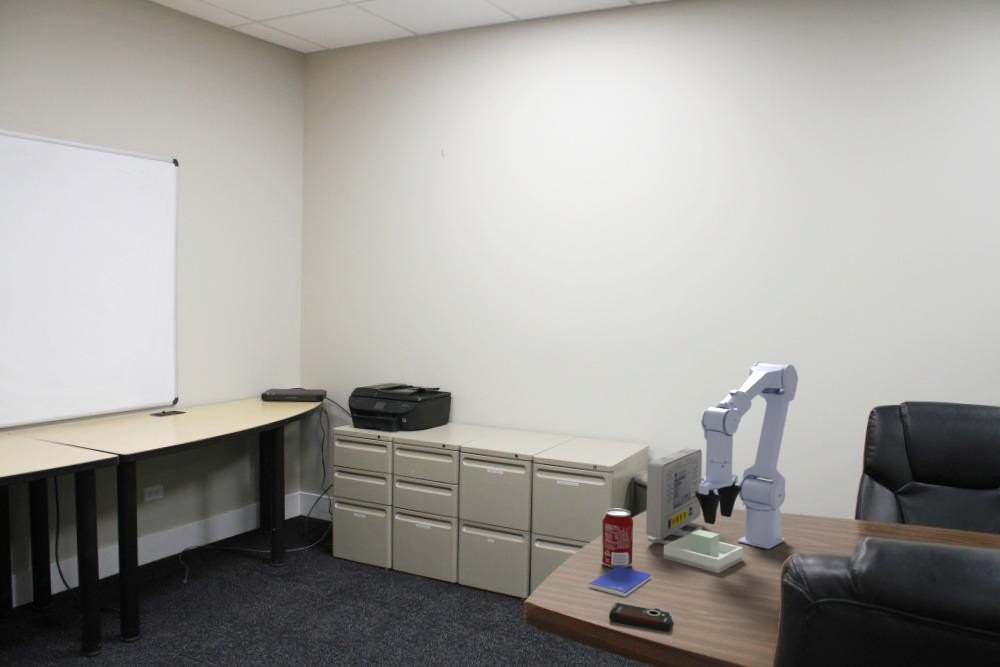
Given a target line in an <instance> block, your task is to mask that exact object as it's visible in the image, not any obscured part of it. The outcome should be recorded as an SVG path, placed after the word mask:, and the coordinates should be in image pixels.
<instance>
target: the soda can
mask: <svg viewBox="0 0 1000 667" xmlns="http://www.w3.org/2000/svg"><path fill="white" fill-rule="evenodd" d="M601 520H602V525H601V526H602V527H601V528H602V529H601V532H602V533H601V563H602V564H603V565H605V566H606V567H608V568H610V569H614V568H615V567H617V566H619V567H623V568H628V567H630V566H631V565H632V564H633V547H634V546H633V542H634V540H633V539H634V538H633V537H634V519H633V518H632V517H631V511H630V510H627V509H623V508H608V509H606V510H605V514H604V516H603V518H602V519H601Z"/></svg>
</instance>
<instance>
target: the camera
mask: <svg viewBox="0 0 1000 667" xmlns="http://www.w3.org/2000/svg"><path fill="white" fill-rule="evenodd" d="M608 618H609V620H610V621H614V622H619V623H620V624H625V625H629V626H633V627H634V626H635V627H639V628H645V629H650V630H655V631H665V632H670V631H671V630H672V628H673V627H672V626H673V620H674V616H673V615H671V614H670V613H669V612H666V611H661V610H660V608H654V609H652V608H647V607H642V606H635V605H630V604H626V603H625V604H624V603H620V602H615V601H614V602H613V603H612V605H611V610H610V611H609V615H608Z"/></svg>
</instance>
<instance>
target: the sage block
mask: <svg viewBox="0 0 1000 667" xmlns="http://www.w3.org/2000/svg"><path fill="white" fill-rule="evenodd" d="M719 542H720V533H717V532H716V533H715V532H712V531H708V530H703V529H702V530H697V531H695V532H693V533H691V550H690V551H692V552H696V553H700V554H704V555H708V556H711V557H715V558H716V557H718V556H719Z"/></svg>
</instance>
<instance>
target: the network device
mask: <svg viewBox="0 0 1000 667" xmlns="http://www.w3.org/2000/svg"><path fill="white" fill-rule="evenodd" d="M702 462H703V454H702V450H701V448H692V447H685V448H682V449H679V450H676V451H674V452H672V453H669V454H666V455H664V456H662V457H659V458H656V459H654V460H652V461H649V463H648V465H647V470H646V471H647V475H646V479H647V480H646V481H647V482H646V527H645V528H646V530H645V533H646V536H647V540H648V541H650V542H653V543H658V544H662V545H666V544H668V543H671V542H673V541H674V540H673V541H672V540H667V539H665V538H667V537H669V536H670V535H671V536H677V537H680V538H682V537H684V536H687V535H689V534H690V535H691V533H693V532H695V531H697V530H703V525H701V524H699V523H695V522H693V521H695V520H697V519H698V518H700V516H701V511H702V508H701V505H700V503H699V501H698V499H697V497H696V496H695V491H697V490H699V484H701V483H702V480H701V478H702V466H703V465H702ZM685 526H687V527H692V528H695V529H694V530H691V531H686V530H682V528H683V527H685Z"/></svg>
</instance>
